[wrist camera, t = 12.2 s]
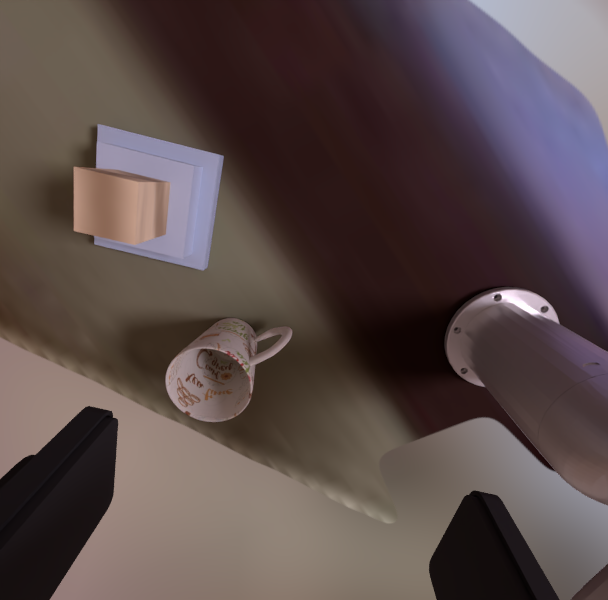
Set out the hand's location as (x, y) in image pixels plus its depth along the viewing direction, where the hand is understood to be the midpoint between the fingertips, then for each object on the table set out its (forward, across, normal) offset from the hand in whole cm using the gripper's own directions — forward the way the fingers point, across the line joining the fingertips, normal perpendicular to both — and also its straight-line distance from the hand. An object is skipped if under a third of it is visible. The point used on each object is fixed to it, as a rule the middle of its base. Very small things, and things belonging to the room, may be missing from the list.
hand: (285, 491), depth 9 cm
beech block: (+26, +17, -2) cm, 31 cm away
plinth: (+30, +17, -2) cm, 35 cm away
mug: (+31, +5, +11) cm, 33 cm away
